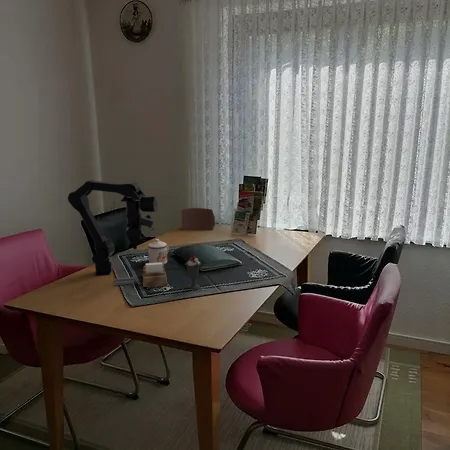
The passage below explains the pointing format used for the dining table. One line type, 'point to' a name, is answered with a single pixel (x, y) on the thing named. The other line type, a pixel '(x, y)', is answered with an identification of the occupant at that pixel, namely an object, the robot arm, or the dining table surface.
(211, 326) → the dining table surface
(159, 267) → the upright white panel
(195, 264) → the sundae
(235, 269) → the dining table surface
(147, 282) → the rack
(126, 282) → the rails
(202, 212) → the letter holder
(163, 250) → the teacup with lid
